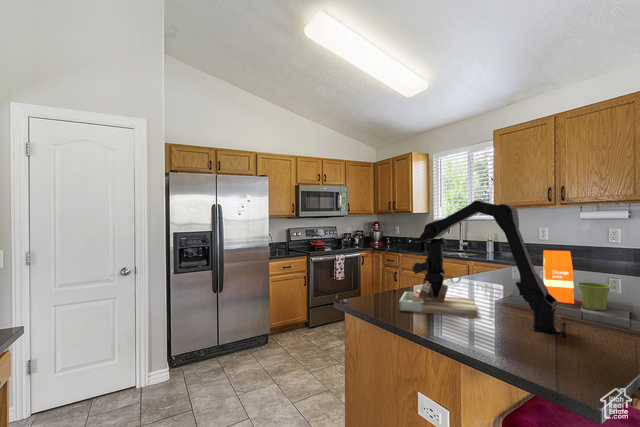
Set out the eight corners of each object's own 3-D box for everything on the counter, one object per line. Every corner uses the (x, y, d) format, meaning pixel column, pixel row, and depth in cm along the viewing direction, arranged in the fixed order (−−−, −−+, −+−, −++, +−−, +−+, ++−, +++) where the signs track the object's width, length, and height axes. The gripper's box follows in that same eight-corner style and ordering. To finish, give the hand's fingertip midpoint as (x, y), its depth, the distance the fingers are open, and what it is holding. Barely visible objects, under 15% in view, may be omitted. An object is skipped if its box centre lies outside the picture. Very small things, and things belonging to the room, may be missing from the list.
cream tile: (421, 293, 121) (416, 291, 122) (418, 303, 121) (413, 301, 122) (422, 290, 125) (417, 288, 126) (419, 300, 126) (414, 299, 126)
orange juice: (574, 303, 119) (572, 252, 119) (546, 300, 123) (544, 251, 124) (570, 298, 125) (568, 250, 126) (544, 296, 130) (542, 249, 130)
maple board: (477, 317, 105) (476, 310, 105) (422, 312, 112) (422, 305, 112) (474, 305, 119) (473, 298, 120) (425, 301, 127) (425, 295, 127)
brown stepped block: (443, 306, 111) (447, 290, 110) (418, 297, 114) (422, 282, 113) (443, 297, 123) (448, 283, 122) (421, 289, 126) (425, 276, 125)
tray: (421, 312, 112) (421, 302, 112) (399, 310, 115) (399, 301, 115) (424, 301, 127) (424, 292, 127) (405, 299, 130) (405, 291, 130)
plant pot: (571, 307, 114) (571, 283, 114) (585, 303, 118) (584, 281, 118) (603, 313, 106) (602, 288, 106) (617, 309, 110) (615, 285, 110)
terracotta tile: (419, 297, 114) (413, 295, 115) (416, 308, 115) (410, 306, 116) (420, 294, 119) (414, 292, 119) (417, 305, 119) (412, 303, 120)
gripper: (415, 252, 130) (416, 288, 129) (410, 257, 113) (411, 300, 112) (443, 252, 125) (445, 290, 125) (442, 258, 108) (444, 302, 108)
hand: (436, 295), depth 118 cm, fingers closed on brown stepped block, 4 cm apart
